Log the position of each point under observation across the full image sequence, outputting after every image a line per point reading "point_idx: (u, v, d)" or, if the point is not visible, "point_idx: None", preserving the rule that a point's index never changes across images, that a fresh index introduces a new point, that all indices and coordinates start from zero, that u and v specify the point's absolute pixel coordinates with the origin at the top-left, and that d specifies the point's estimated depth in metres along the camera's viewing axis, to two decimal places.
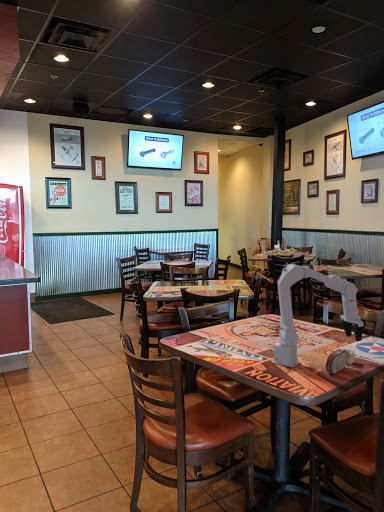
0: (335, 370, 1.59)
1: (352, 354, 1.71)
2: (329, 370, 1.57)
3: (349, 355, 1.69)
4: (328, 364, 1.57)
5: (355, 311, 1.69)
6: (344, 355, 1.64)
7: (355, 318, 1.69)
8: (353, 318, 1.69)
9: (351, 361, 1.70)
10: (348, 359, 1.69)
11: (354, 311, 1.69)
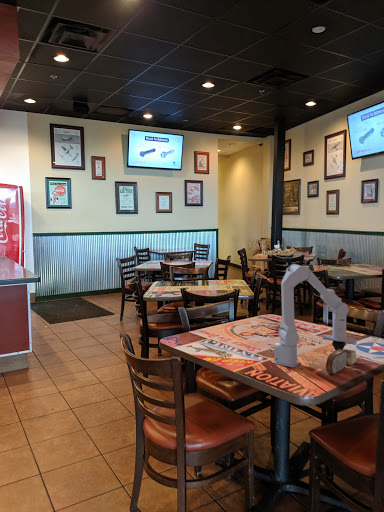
0: (335, 370, 1.59)
1: (354, 354, 1.70)
2: (329, 370, 1.57)
3: (351, 355, 1.69)
4: (328, 364, 1.57)
5: (345, 330, 1.72)
6: (344, 355, 1.64)
7: (345, 337, 1.72)
8: (345, 337, 1.72)
9: (353, 361, 1.70)
10: (350, 359, 1.69)
11: (345, 330, 1.72)
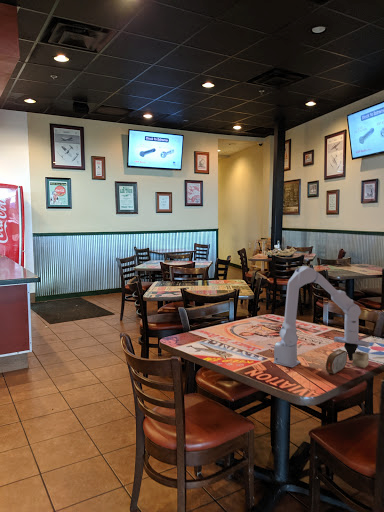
0: (335, 370, 1.59)
1: (366, 357, 1.67)
2: (329, 370, 1.57)
3: (363, 358, 1.65)
4: (328, 364, 1.57)
5: None
6: (344, 355, 1.64)
7: (358, 339, 1.69)
8: (357, 339, 1.68)
9: (365, 364, 1.66)
10: (362, 362, 1.65)
11: None
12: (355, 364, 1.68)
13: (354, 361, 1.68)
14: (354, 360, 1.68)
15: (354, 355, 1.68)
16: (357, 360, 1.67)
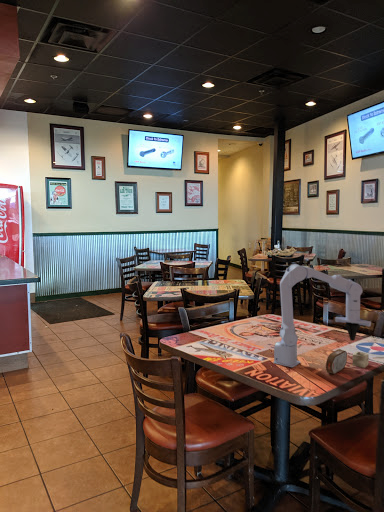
0: (335, 370, 1.59)
1: (366, 357, 1.67)
2: (329, 370, 1.57)
3: (363, 358, 1.65)
4: (328, 364, 1.57)
5: (359, 311, 1.68)
6: (344, 355, 1.64)
7: (359, 318, 1.68)
8: (358, 319, 1.67)
9: (365, 364, 1.66)
10: (362, 362, 1.65)
11: (359, 311, 1.67)
12: (355, 364, 1.68)
13: (354, 361, 1.68)
14: (354, 360, 1.68)
15: (354, 355, 1.68)
16: (357, 360, 1.67)
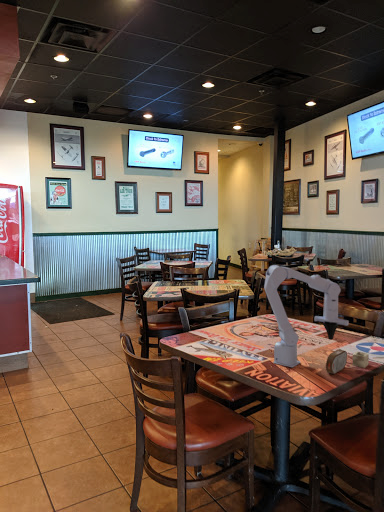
0: (335, 370, 1.59)
1: (366, 357, 1.67)
2: (329, 370, 1.57)
3: (363, 358, 1.65)
4: (328, 364, 1.57)
5: (337, 311, 1.70)
6: (344, 355, 1.64)
7: (337, 318, 1.70)
8: (336, 318, 1.69)
9: (365, 364, 1.66)
10: (362, 362, 1.65)
11: (337, 311, 1.70)
12: (355, 364, 1.68)
13: (354, 361, 1.68)
14: (354, 360, 1.68)
15: (354, 355, 1.68)
16: (357, 360, 1.67)
